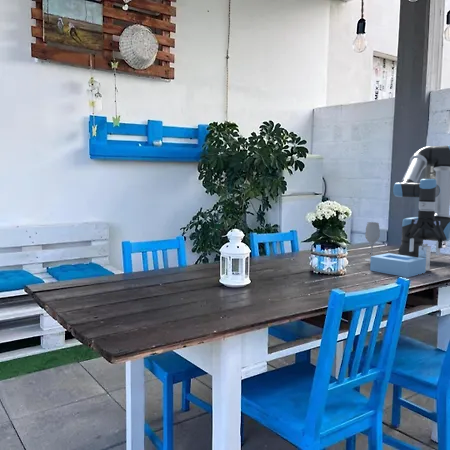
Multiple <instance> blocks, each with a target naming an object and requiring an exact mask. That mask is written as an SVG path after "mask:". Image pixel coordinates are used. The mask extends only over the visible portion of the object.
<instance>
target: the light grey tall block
mask: <svg viewBox="0 0 450 450" xmlns="http://www.w3.org/2000/svg"><path fill="white" fill-rule="evenodd" d="M431 249H432V248H431V245H428V243H423V244H422V246H419V254H418V258H425V259H426V269H425V272H428V271H430V266H431V265H430V264H431Z"/></svg>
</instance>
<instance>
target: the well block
mask: <svg viewBox="0 0 450 450" xmlns="http://www.w3.org/2000/svg"><path fill="white" fill-rule="evenodd" d="M370 258H371V262H369V263H370V269H369V271H372V272H376V273H377V272H378V273H383V274H388V275H395V276H399V277H405V278H410V277H416V276H417V275H418V274H419V275H421V274H422V273H423V274H425V273H426V271H425V269H426V259H425V258H418V257H412V256H405V255H398V253H397V254H395V253H391V252H387V253H383V254H382V253H381V254H376V255H372V256H371V255H370Z"/></svg>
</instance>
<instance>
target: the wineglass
mask: <svg viewBox="0 0 450 450" xmlns="http://www.w3.org/2000/svg"><path fill="white" fill-rule="evenodd" d="M379 224H380V223H379V222H373V221H371V222H367V223H366V227H365V233H364V234H365V235H364V236H365V239H366V241H367V242H368V243H369V244H370V248H371V249H370V250H371V251H370V257H369V258H366V259H364V261H365V262H369V263H370V262H371V256H373V249H374V248H373V247H374V244H376V243H377V242H378V241H379V240H380V237H381V232H380V225H379Z"/></svg>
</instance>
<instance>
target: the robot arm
mask: <svg viewBox="0 0 450 450" xmlns="http://www.w3.org/2000/svg"><path fill="white" fill-rule="evenodd" d="M408 163H409V165H408V167H407V170H406V171H405V173H404V175H403V178H402V179H401V182H395V183H394V185H393V189H392V191H393V195H394V197H397V198H419V199H418V209H419V210H418V211H417V216H412V217H406V218H403V219H402V222H401V223H402V225H401V244H400V246H399V247H398V248H399V249H398V252H397V254H398V255H405V256H412V257H418V254H419V246H422V244H424V241H433V242H435V243H436V245H435V256H440V255H441V249H442V248H443V243H444V242H450V144H448V145H427V146H424V147H421V148H420V149H418V150H416V151H415V152H414V153H413V154H412V155H411V156H410V157H409V162H408ZM428 167H433V168H432V169H433V171H434V172H435V178H421V179H420V177H421V174H422V172H423V170H424V169H425V168H428ZM419 180H420V181H419ZM418 181H419V182H418Z"/></svg>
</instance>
